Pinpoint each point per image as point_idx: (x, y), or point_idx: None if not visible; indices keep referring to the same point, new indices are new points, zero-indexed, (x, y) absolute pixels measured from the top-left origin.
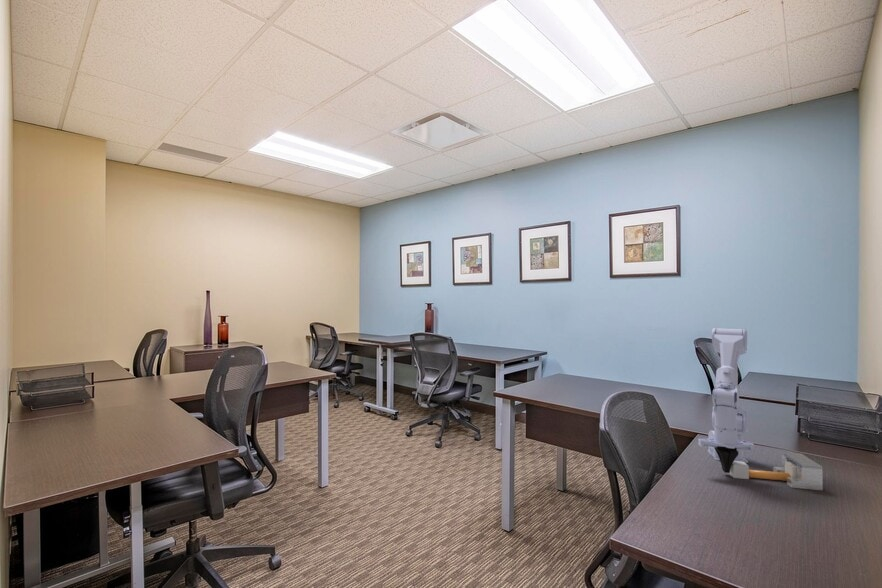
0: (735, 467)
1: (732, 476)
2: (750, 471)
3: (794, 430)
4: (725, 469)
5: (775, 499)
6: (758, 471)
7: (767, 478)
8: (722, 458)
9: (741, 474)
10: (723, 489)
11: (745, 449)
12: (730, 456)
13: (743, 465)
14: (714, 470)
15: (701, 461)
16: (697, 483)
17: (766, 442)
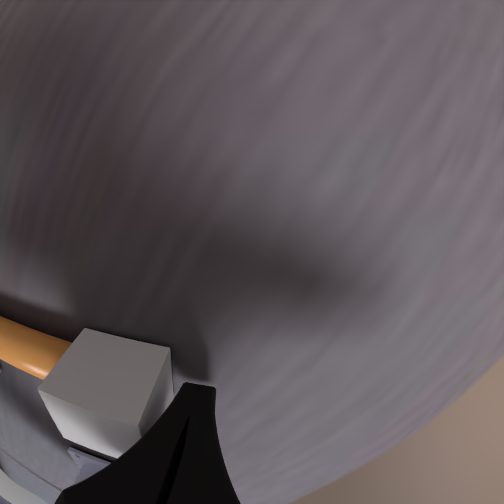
0: (130, 403)
1: (170, 363)
2: (52, 367)
3: (10, 478)
4: (212, 402)
5: (57, 41)
6: (18, 358)
7: (7, 319)
8: (232, 489)
9: (110, 355)
10: (369, 138)
11: (6, 500)
12: (145, 498)
13: (67, 401)
14: (241, 427)
15: (253, 480)
16: (485, 240)
17: (37, 480)
